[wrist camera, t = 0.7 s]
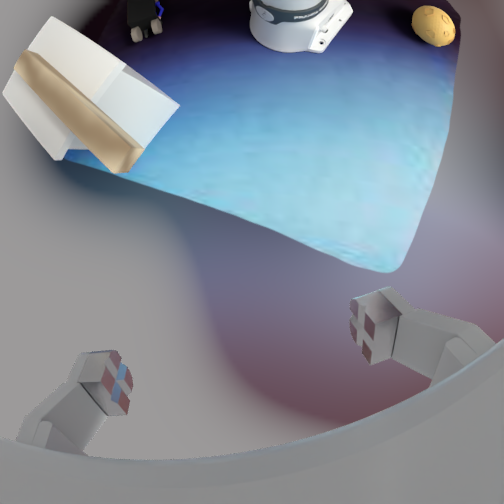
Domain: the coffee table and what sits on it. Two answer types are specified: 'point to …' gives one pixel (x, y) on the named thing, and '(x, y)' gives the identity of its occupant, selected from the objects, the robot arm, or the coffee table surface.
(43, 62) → the beech bar
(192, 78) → the coffee table surface
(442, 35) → the stress ball
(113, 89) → the pedestal
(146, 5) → the figurine character
